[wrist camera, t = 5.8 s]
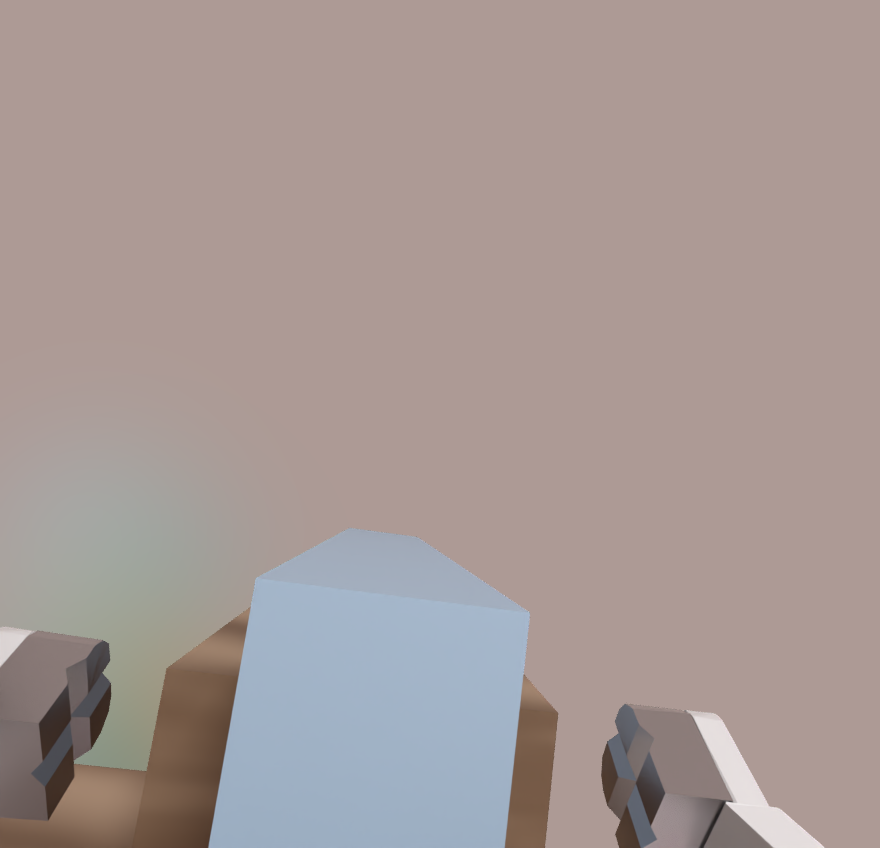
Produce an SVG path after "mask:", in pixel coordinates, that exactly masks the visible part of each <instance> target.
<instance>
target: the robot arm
mask: <svg viewBox="0 0 880 848" xmlns="http://www.w3.org/2000/svg"><path fill="white" fill-rule="evenodd" d="M109 661H110V654H109V643H107V642H105V641H103V640H98V639H91V638H84V637H77V636H71V635H63V634H57V633H50V632H44V631H31V630H25V629H18V628H12V627H5V626H3V627H1V628H0V818H12V819H27V820H41V821H48V820H49V818H50V817H51V815H52V813H53V812H54V810H55V809H56V807H57V805H58V804H59V802H60V800H61V799H62V797H63V795H64V794H65V792H66V790H67V789H68V787H69V785H70V784H71V782H72V780H73V779H74V777H75V776H74V760H75V759H77V758H78V757H80V756H82V755H83V754H84V753H86V752H88V751H89V750H91V749H92V747H93V745H94V743H95V742H96V740H97V738H98V736H99V735H100V733H101V730H102V728H103V725H104V722H105V720H106V717H107V714H108V712H109V706H110V700H111V683H110V682H109V680H108V679H107V678H106V677H105V676H104V675H103V673H102V672H103V671H104V669H105V668H106V666H107V665H108V663H109ZM615 723H616V726H617V729H618V732H619V734H617V735H616V736H614V737H613V738H612V739H610V740H609V741H607V744H606V748H605V751H604V754H603V757H602V774H601V776H602V784H603V791H604V794H605V798H606V802H607V806H608V807H609V808H610V809H611V810H612V811H613V812H614V814H615V815H616V816H617V817H618V818H619V819H620V820H621V821H620V824H619V826H618V829H617V831H616V834H615V835H616V838H617V841H618V845H619V848H825V847H823V846H822V845H821V844H820V843H819V842H818V841H817V840H815V839H814V838H813V837H812V836H810V834H808V833H807V832H806V831H805V830H804V829H803V828H801V827H800V826H799V825H798V824H797V823H796V822H794V821H793V820H792V819H791V818H790V817H789V816H788V815H786V814H785V813H784V812H783V811H782V810H781V809H779V808H775V807H769V805H768V803H767V801H766V799H765V798H764V796H763V794H762V792H761V790H760V789H759V787H758V785H757V783H756V781H755V779H754V778H753V776H752V774H751V772H750V770H749V768H748V767H747V765H746V763H745V761H744V759H743V757H742V756H741V754H740V752H739V750H738V748H737V746H736V745H735V743H734V741H733V739H732V737H731V735H730V734H729V732H728V730H727V728H726V726H725V725H724V723H723V721H722V720H721V718H720V717H718V716H717V715H716V714H715V713H706V712H696V711H687V710H685V711H682V710H677V709H668V708H659V707H650V706H641V705H632V704H624V705H623V706H622V707H621V708H620V710H619V712H618V714H617V717H616V720H615Z"/></svg>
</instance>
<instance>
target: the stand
mask: <svg viewBox="0 0 880 848" xmlns="http://www.w3.org/2000/svg"><path fill="white" fill-rule="evenodd" d="M250 609H251V607H250V608H248V609H247V610H246V611H244V612H243V613H241V614H240V615H239V616H237V617H236V618H235V619H233V620H232V621H231V622H229V623H228V624H226V625H225V626H224V627H222V628H221V629H220V630H218V631H217V632H216V633H214V634H213V635H212V636H210V637H209V638H207V639H206V640H205V641H203V642H202V643H201V644H199V645H198V646H196V647H195V648H194V649H192V650H191V651H190V652H188V653H187V654H186V655H184V656H183V657H182V658H180V659H179V660H178V661H176V662H175V663H173V664H172V665H171V666H169V667H168V668H167V669H166V674H165V680H164V685H163V690H162V695H161V700H160V705H159V710H158V716H157V721H156V726H155V731H154V736H153V741H152V747H151V752H150V757H149V762H148V767H147V771H139V770H129V769H119V768H109V767H99V766H89V765H80V764H74V776H75V777H74V779H73V780H72V782H71V784H70V785H69V787H68V789H67V790H66V792H65V794H64V795H63V797H62V799H61V800H60V802H59V804H58V805H57V807H56V809H55V810H54V812H53V813H52V815H51V817H50V818H49V820H48V821H41V820H27V819H12V818H0V848H208V847H209V841H210V835H211V830H212V824H213V818H214V813H215V807H216V801H217V796H218V790H219V784H220V779H221V773H222V767H223V762H224V756H225V750H226V745H227V739H228V733H229V728H230V722H231V716H232V711H233V705H234V699H235V694H236V688H237V683H238V677H239V671H240V666H241V660H242V654H243V649H244V643H245V637H246V632H247V626H248V620H249V615H250ZM557 720H558V712H557V711H556V710H555V709H554V708H553V707H552V706H551V705H550V703H549V702H548V701H547V700H546V699H545V698H544V697H543V696H542V694H541V693H540V692H539V691H538V690H537V689H536V688H535V687H534V686H533V684H532V683H531V682H530V681H529V680H528V679H527V677H526V676H525V675H524V674H523V683H522V692H521V701H520V710H519V720H518V729H517V738H516V747H515V756H514V766H513V775H512V784H511V793H510V802H509V812H508V821H507V830H506V839H505V848H545V840H546V831H547V821H548V810H549V800H550V790H551V780H552V770H553V760H554V750H555V740H556V730H557Z"/></svg>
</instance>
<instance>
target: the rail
mask: <svg viewBox="0 0 880 848" xmlns="http://www.w3.org/2000/svg"><path fill="white" fill-rule="evenodd" d="M529 618H530V612H528V611H526V610H525V609H523V608H522V607H521V606H519V605H517V604H516V603H515V602H513V601H512V600H510V599H509V598H507V597H506V596H504V595H503V594H501V593H500V592H498V591H497V590H495V589H494V588H492V587H491V586H489V585H488V584H486V583H485V582H484V581H482V580H480V579H479V578H478V577H476V576H475V575H473V574H471V573H470V572H469V571H467V570H466V569H464V568H463V567H461V566H460V565H458V564H457V563H455V562H454V561H452V560H451V559H449V558H448V557H446V556H445V555H443V554H442V553H440V552H439V551H437V550H436V549H435V548H433V547H431V546H430V545H429V544H427V543H426V542H424V541H422V540H421V539H420V538H418V537H413V536H406V535H398V534H391V533H383V532H375V531H369V530H361V529H353V528H349V529H347V530H345V531H343V532H341V533H339V534H337V535H336V536H334V537H332V538H330V539H328V540H326V541H324V542H323V543H321V544H319V545H317V546H315V547H313V548H311V549H309V550H308V551H306V552H304V553H302V554H300V555H298V556H296V557H295V558H293V559H291V560H289V561H287V562H285V563H283V564H282V565H280V566H278V567H276V568H274V569H272V570H270V571H268V572H267V573H265V574H263V575H261V576H259V577H257V578H256V581H255V587H254V592H253V598H252V603H251V609H250V615H249V620H248V626H247V632H246V637H245V643H244V649H243V654H242V660H241V666H240V671H239V677H238V683H237V688H236V694H235V699H234V705H233V711H232V716H231V722H230V728H229V733H228V739H227V745H226V750H225V756H224V762H223V767H222V773H221V779H220V784H219V790H218V796H217V801H216V807H215V813H214V818H213V824H212V830H211V835H210V841H209V847H208V848H505V839H506V830H507V821H508V812H509V802H510V793H511V784H512V775H513V766H514V756H515V747H516V738H517V729H518V720H519V710H520V701H521V692H522V683H523V673H524V664H525V654H526V646H527V636H528V627H529Z"/></svg>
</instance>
